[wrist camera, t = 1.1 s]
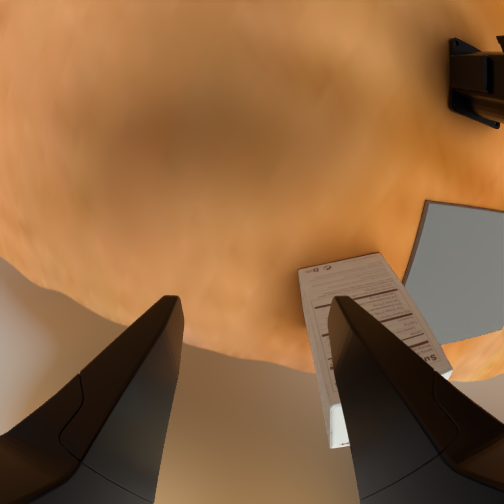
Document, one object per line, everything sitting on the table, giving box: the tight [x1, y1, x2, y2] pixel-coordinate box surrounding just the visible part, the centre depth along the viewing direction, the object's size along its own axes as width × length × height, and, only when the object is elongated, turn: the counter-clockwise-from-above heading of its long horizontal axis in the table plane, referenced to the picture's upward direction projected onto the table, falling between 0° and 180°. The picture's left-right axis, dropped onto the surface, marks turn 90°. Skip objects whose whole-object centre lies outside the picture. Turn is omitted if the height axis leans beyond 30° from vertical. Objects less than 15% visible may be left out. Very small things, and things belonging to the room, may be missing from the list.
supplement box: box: [298, 253, 453, 448], centre depth 19 cm, size 7×7×13 cm
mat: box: [402, 201, 504, 345], centre depth 24 cm, size 24×18×1 cm
